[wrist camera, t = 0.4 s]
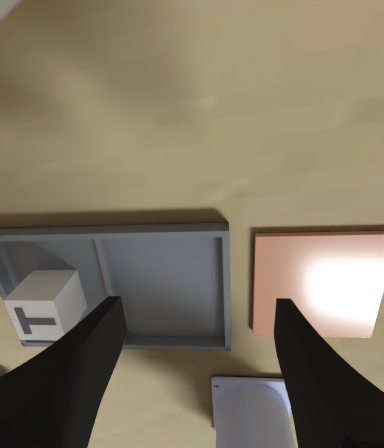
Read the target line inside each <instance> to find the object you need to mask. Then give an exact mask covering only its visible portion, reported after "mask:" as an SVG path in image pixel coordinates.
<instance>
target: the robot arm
mask: <svg viewBox="0 0 384 448" xmlns="http://www.w3.org/2000/svg"><path fill="white" fill-rule="evenodd" d="M126 332H127V325H126V320H125V315H124V310H123V305H122V300H121V296H108V297H107V298H106V299H104V300H103V301H102V302H101V303H100V304H99V305H98V306H97V307H96V308H95V309H94V310H92V311H91V312H90V313H89V314H88V315H87V316H86V317H85V318H84V319H82V320H81V321H80V322H79V323H78V324H77V325H76V326H74V327H73V328H72V329H71V330H69V331H68V332H67V333H66V334H65V335H63V336H62V337H61V338H60V339H58V340H57V341H56V342H55V343H53V344H52V345H50V346H49V347H48V348H46V349H45V350H43V351H42V352H40V353H39V354H38V355H36V356H35V357H33V358H31V359H30V360H28V361H27V362H25V363H23V364H22V365H20V366H18V367H17V368H15V369H13V370H12V371H10V372H8V373H6V374H5V375H3V376H1V377H0V448H87V447H88V443H89V439H90V436H91V432H92V429H93V425H94V422H95V419H96V415H97V412H98V409H99V406H100V403H101V400H102V397H103V395H104V392H105V390H106V387H107V385H108V382H109V380H110V378H111V375H112V373H113V370H114V368H115V365H116V363H117V360H118V358H119V355H120V353H121V350H122V347H123V343H124V340H125V336H126ZM274 339H275V346H276V352H277V357H278V361H279V365H280V368H281V372H282V376H283V379H275V378H245V377H213V378H212V380H211V385H212V402H213V419H214V434H215V435H216V448H295V443H294V439H293V434H292V429H291V424H290V419H289V418H290V409H291V410H292V414H293V419H294V425H295V430H296V436H297V442H298V448H384V392H383V391H381V390H380V389H379V388H377V387H376V386H375V385H373V384H372V383H371V382H370V381H368V380H367V379H366V378H364V377H363V376H362V375H361V374H360V373H358V372H357V371H356V370H355V369H354V368H352V367H351V366H350V365H349V364H348V363H347V362H346V361H345V360H344V359H343V358H342V357H341V356H340V355H338V354H337V353H336V352H335V351H334V350H333V348H332V347H331V346H330V345H329V344H328V343H327V342H326V341H325V340H324V339H323V338H322V337H321V336H320V334H319V333H318V332H317V331H316V330H315V329H314V328H313V326H312V325H311V324H310V323H309V322H308V320H307V319H306V318H305V317H304V315H303V314H302V313H301V311H300V310H299V309H298V307H297V306H296V305H295V303H294V302H293V301H292V300H291V299H290V298H276V309H275V322H274Z"/></svg>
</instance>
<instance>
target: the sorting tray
mask: <svg viewBox="0 0 384 448" xmlns="http://www.w3.org/2000/svg"><path fill="white" fill-rule="evenodd" d="M33 270H77V271H78V275H79V278H80V282H81V286H82V289H83V293H84V296H85V300H86V304H87V308H86V310H85V311H84V313H83V314H82V316H81V318H80V319H79V321H78V323H79V322H80V321H81V320H82V319H84V318H85V317H86V316H87V315H88V314H89V313H90V312H91V311H92V310H94V309H95V308H96V307H97V306H98V305H99V304H100V303H101V302H102V301H103V300H104V299H106V298H107V297H108V296H121V300H122V305H123V310H124V315H125V320H126V325H127V332H126V336H125V340H124V343H123V347H122V349H158V350H199V351H231V317H230V255H229V222H217V223H175V224H132V225H90V226H48V227H5V228H0V294H1V297H2V299H3V300H4V299H5V298H6V297H7V296H8V295H9V294H10V293H11V292H12V291H13V290H14V289H15V288H16V287H17V286H18V285H19V284H20V283H21V282H22V281H23V280H24V279H25V278H26V277H27V276H28V275H29V274H30V273H31V272H32V271H33ZM6 309H7V308H6ZM9 316H10V315H9ZM12 323H13V322H12ZM78 323H77V324H78ZM77 324H76V325H77ZM15 330H16V329H15ZM18 337H19V336H18ZM20 341H21V344H22V346H34V347H49V346H50V345H52V344H53V343H55V342H56V341H57V340H20Z"/></svg>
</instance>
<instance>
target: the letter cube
mask: <svg viewBox="0 0 384 448" xmlns="http://www.w3.org/2000/svg"><path fill="white" fill-rule="evenodd" d="M3 301H4V304H5V306H6V308H7V311H8V313H9V315H10V318H11V320H12V322H13V325H14V327H15V329H16V332H17V334H18V336H19V339H20V340H58V339H60V338H61V337H62V336H63V335H65V334H66V333H67V332H68V331H69V330H71V329H72V328H73V327H74V326H76V324H77V323H78V321H79V319H80V318H81V316H82V314H83V313H84V311H85V310H86V308H87V304H86V300H85V296H84V293H83V289H82V286H81V282H80V278H79V275H78V271H77V270H33V271H32V272H31V273H30V274H29V275H28V276H27V277H26V278H25V279H24V280H23V281H22V282H21V283H20V284H19V285H18V286H17V287H16V288H15V289H14V290H13V291H12V292H11V293H10V294H9V295H8V296H7V297H6V298H5V299H4V300H3Z"/></svg>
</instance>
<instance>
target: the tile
mask: <svg viewBox="0 0 384 448" xmlns="http://www.w3.org/2000/svg"><path fill="white" fill-rule="evenodd" d="M383 289H384V231H350V232H298V233H255V249H254V288H253V328H252V331H253V336H274V322H275V309H276V298H290V299H291V300H292V301H293V302H294V303H295V305H296V306H297V307H298V309H299V310H300V311H301V313H302V314H303V315H304V317H305V318H306V319H307V320H308V322H309V323H310V324H311V325H312V326H313V328H314V329H315V330H316V331H317V332H318V333H319V334H320V336H321V337H358V338H371V336H372V332H373V328H374V325H375V321H376V317H377V313H378V309H379V305H380V301H381V297H382V293H383Z"/></svg>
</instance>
